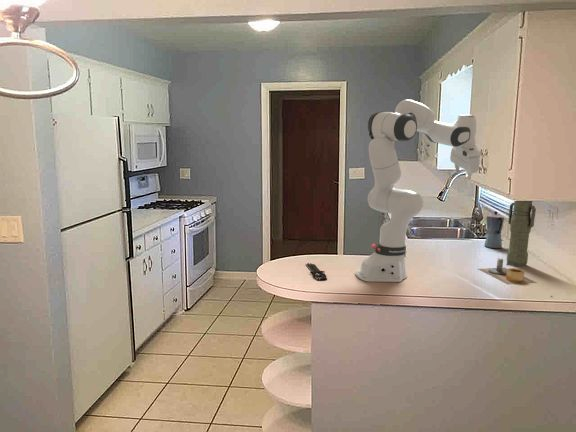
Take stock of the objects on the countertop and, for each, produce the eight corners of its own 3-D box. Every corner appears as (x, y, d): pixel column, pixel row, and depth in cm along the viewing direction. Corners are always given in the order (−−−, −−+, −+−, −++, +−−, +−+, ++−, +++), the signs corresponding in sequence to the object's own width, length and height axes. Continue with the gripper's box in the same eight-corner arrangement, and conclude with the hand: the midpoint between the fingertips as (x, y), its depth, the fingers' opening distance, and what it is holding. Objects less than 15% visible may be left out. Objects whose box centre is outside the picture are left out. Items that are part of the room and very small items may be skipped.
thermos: (525, 271, 224) (533, 196, 217) (500, 265, 232) (507, 193, 226) (533, 267, 229) (541, 195, 223) (508, 262, 238) (515, 192, 232)
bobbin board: (507, 287, 200) (509, 270, 199) (477, 272, 221) (478, 256, 220) (537, 285, 203) (538, 268, 201) (504, 270, 224) (505, 255, 223)
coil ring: (513, 282, 202) (513, 273, 201) (503, 277, 209) (504, 268, 208) (526, 281, 204) (527, 272, 203) (516, 276, 210) (517, 268, 209)
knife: (304, 264, 231) (304, 261, 231) (318, 264, 232) (318, 261, 232) (313, 281, 206) (313, 278, 206) (328, 281, 207) (328, 278, 206)
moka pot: (495, 243, 276) (499, 209, 272) (508, 250, 260) (512, 214, 257) (479, 243, 275) (482, 209, 271) (491, 250, 260) (494, 214, 256)
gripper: (447, 143, 235) (446, 170, 240) (470, 155, 216) (468, 183, 222) (459, 141, 235) (458, 168, 241) (482, 153, 217) (480, 181, 223)
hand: (463, 175), depth 231 cm, fingers open, 8 cm apart
